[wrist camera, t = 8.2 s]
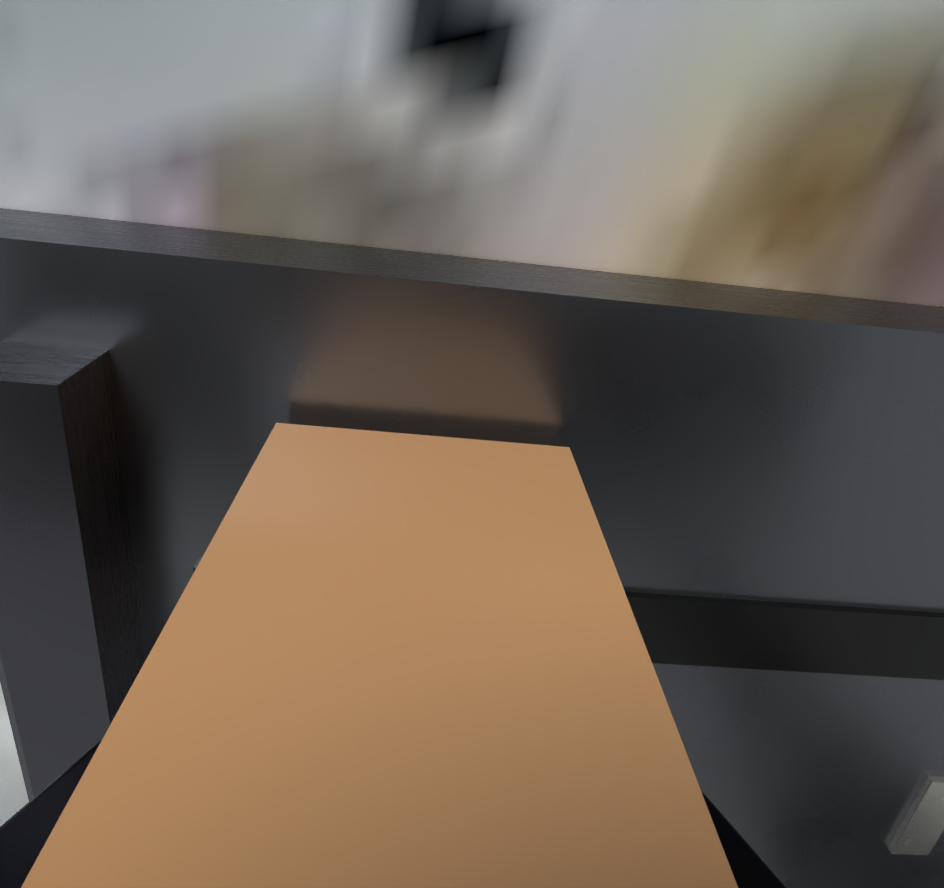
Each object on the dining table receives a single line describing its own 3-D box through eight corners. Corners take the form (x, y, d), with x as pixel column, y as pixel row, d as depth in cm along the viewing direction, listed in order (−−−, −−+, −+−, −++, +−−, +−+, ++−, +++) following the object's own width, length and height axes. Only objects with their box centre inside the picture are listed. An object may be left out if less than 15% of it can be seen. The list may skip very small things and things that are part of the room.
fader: (506, 780, 9) (570, 1450, 5) (280, 770, 9) (106, 1467, 4) (569, 447, 7) (802, 1061, 2) (275, 422, 7) (-71, 1054, 2)
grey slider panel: (907, 1064, 17) (980, 1213, 14) (142, 1057, 15) (90, 1220, 13) (1422, 357, 9) (1747, 436, 7) (-10, 207, 8) (-204, 243, 5)
